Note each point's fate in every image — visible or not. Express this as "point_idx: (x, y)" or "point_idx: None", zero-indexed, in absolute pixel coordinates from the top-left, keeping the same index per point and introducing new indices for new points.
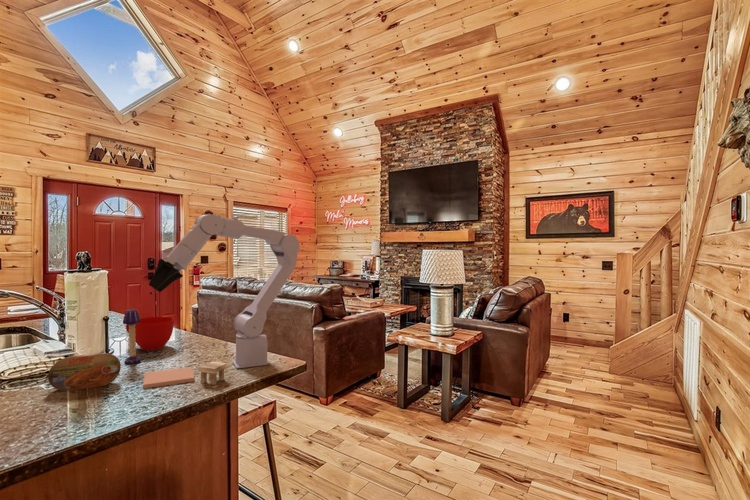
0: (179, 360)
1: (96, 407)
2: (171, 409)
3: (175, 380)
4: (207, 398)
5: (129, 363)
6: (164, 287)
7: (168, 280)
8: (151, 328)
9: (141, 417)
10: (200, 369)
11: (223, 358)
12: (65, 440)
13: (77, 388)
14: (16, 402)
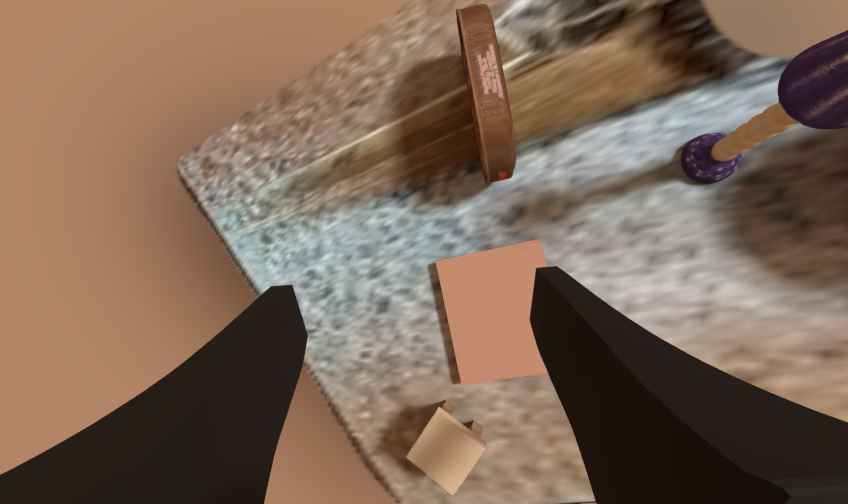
0: (701, 314)
1: (348, 195)
2: None
3: (452, 336)
4: (340, 418)
5: (684, 155)
6: (549, 364)
7: (585, 427)
8: None
9: None
10: (434, 413)
11: None
12: (228, 201)
13: (470, 102)
14: (415, 15)
